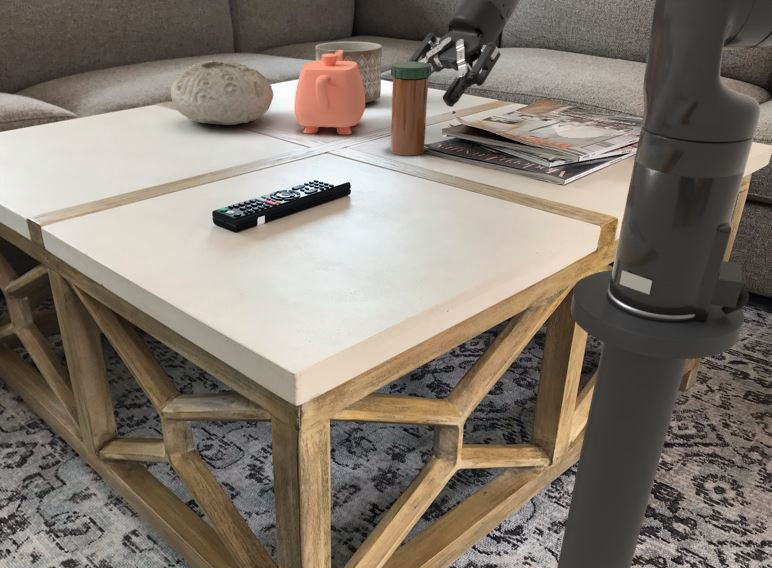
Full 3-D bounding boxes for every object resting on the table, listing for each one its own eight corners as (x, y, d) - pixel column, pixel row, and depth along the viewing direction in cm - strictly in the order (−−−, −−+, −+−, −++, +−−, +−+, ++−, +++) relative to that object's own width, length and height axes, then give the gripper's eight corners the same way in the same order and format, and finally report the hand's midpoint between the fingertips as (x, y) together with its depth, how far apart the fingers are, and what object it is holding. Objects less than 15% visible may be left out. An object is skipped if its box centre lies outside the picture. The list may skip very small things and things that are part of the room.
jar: (428, 148, 115) (433, 66, 109) (418, 157, 111) (422, 72, 105) (396, 145, 117) (400, 64, 111) (385, 153, 112) (388, 70, 106)
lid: (435, 73, 109) (436, 62, 109) (423, 80, 105) (424, 69, 104) (398, 70, 111) (398, 60, 111) (385, 77, 107) (385, 66, 106)
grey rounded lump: (284, 113, 137) (282, 56, 132) (260, 136, 122) (256, 73, 117) (193, 110, 140) (188, 54, 136) (158, 133, 125) (151, 71, 120)
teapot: (357, 142, 118) (358, 64, 112) (285, 140, 120) (282, 62, 114) (371, 115, 135) (372, 45, 129) (307, 113, 137) (306, 44, 131)
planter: (380, 95, 150) (381, 41, 145) (380, 109, 139) (381, 50, 134) (318, 95, 151) (317, 41, 146) (313, 108, 140) (312, 51, 135)
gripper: (441, -10, 115) (383, 75, 114) (512, -4, 105) (449, 89, 104) (461, 23, 120) (406, 105, 120) (531, 32, 110) (471, 122, 110)
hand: (426, 98), depth 112 cm, fingers open, 8 cm apart
